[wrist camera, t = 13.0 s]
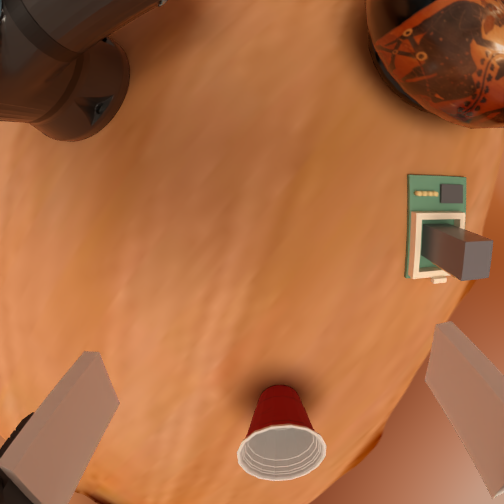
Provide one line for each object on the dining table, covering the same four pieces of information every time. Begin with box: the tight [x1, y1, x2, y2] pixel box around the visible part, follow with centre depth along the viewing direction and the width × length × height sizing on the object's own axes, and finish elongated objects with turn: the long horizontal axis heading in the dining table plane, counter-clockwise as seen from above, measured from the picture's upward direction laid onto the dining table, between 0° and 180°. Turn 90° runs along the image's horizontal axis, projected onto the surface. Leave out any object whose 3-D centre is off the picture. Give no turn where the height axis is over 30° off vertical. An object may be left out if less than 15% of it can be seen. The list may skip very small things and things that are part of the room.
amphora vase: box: [365, 0, 504, 129], centre depth 17 cm, size 22×22×28 cm
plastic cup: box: [237, 385, 326, 481], centre depth 38 cm, size 11×11×12 cm
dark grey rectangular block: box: [421, 223, 493, 281], centre depth 31 cm, size 5×4×10 cm
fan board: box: [404, 175, 466, 284], centre depth 35 cm, size 13×9×3 cm
